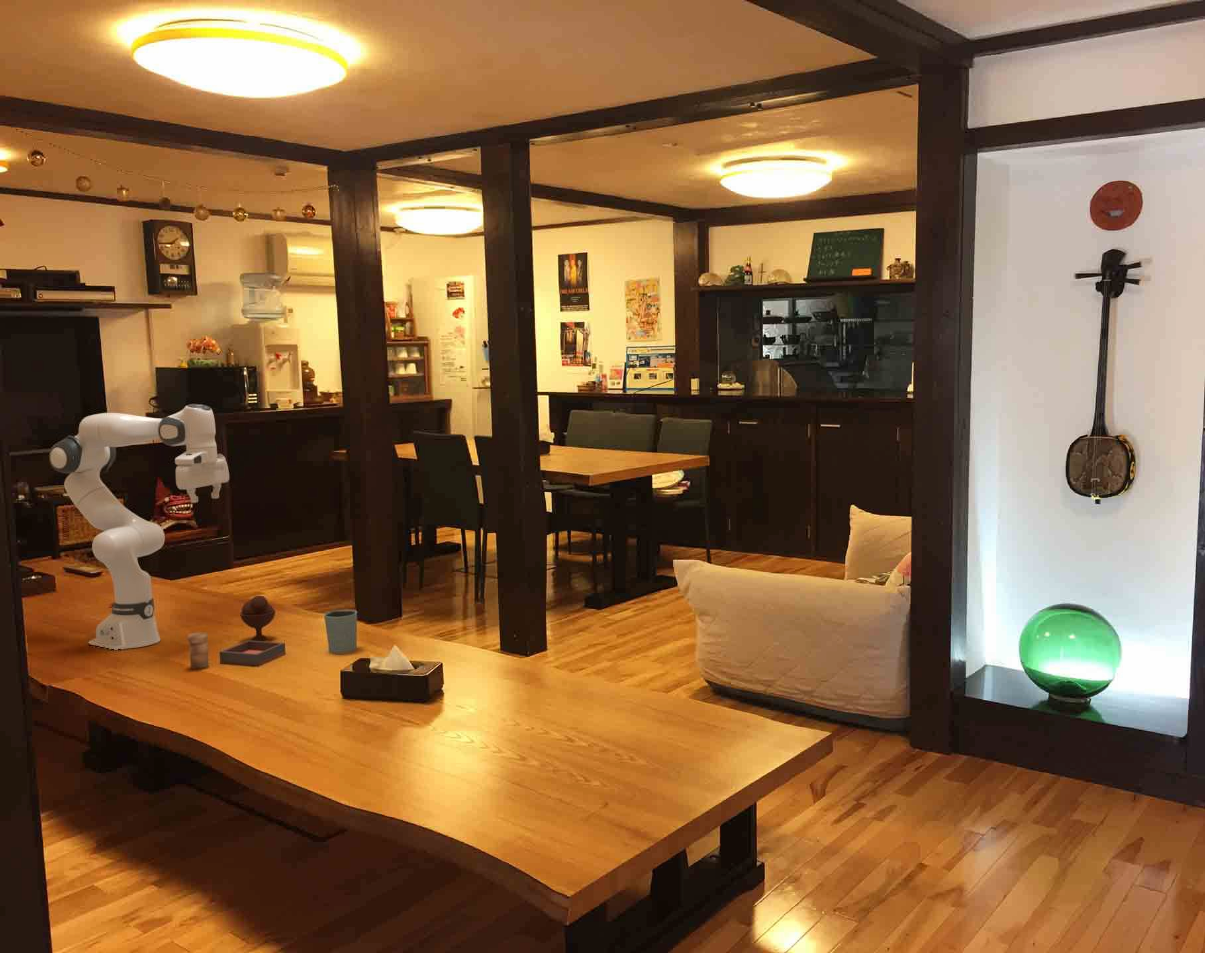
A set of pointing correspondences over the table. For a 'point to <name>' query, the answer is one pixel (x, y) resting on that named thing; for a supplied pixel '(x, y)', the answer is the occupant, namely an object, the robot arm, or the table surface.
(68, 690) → the table surface
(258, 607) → the ice cream bowl
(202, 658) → the tea canister
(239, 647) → the lacquer tray
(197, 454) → the robot arm
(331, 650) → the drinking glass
